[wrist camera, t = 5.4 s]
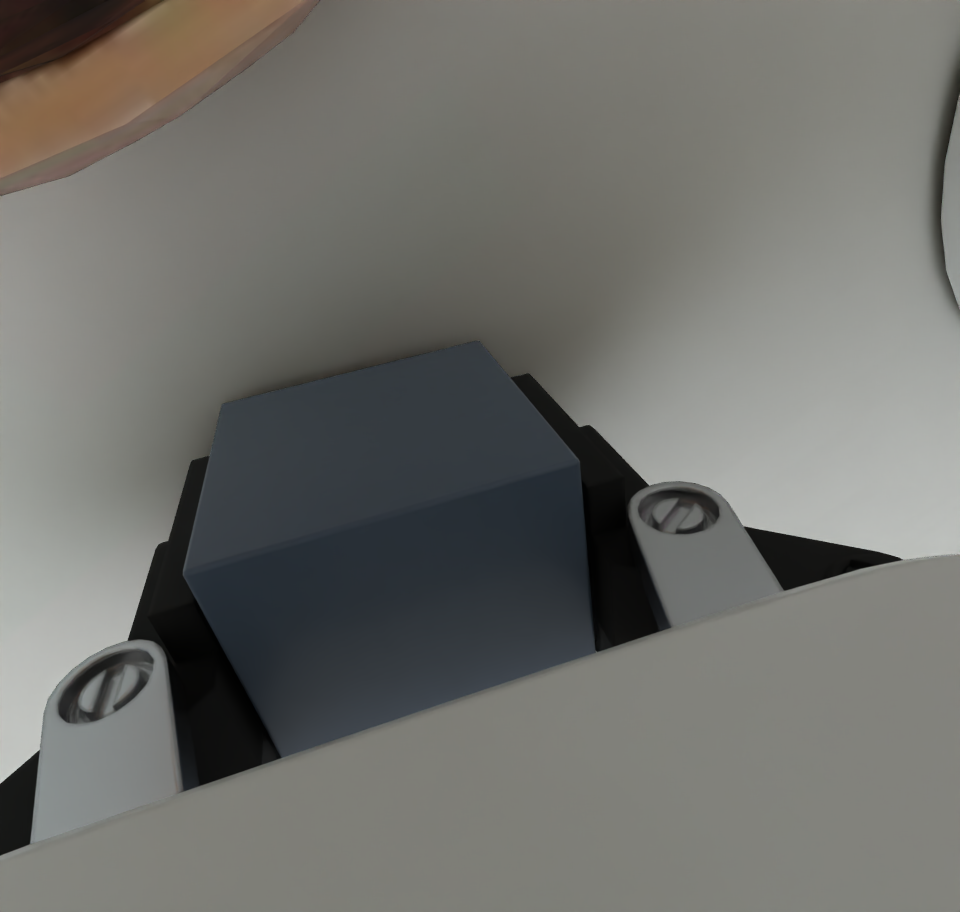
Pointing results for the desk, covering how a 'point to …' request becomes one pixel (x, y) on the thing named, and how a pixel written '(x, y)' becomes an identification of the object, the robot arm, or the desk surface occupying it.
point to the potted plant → (117, 72)
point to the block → (389, 544)
